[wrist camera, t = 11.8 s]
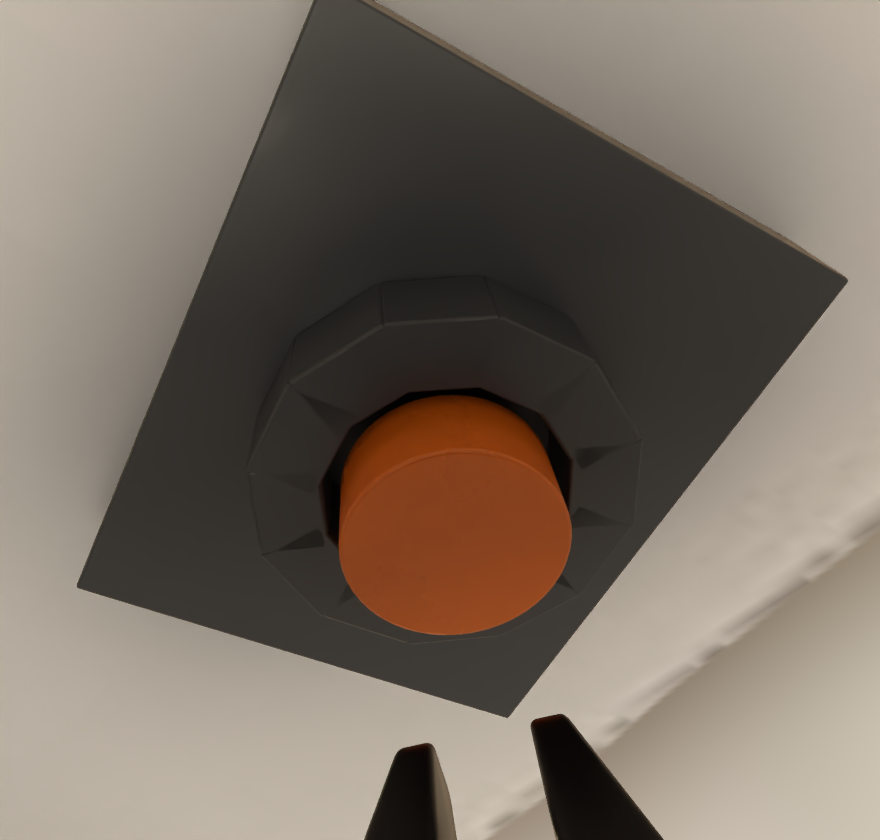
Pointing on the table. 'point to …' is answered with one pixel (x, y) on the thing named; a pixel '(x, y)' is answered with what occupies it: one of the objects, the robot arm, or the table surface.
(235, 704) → the table surface
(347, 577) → the button
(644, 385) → the control block
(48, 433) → the table surface
